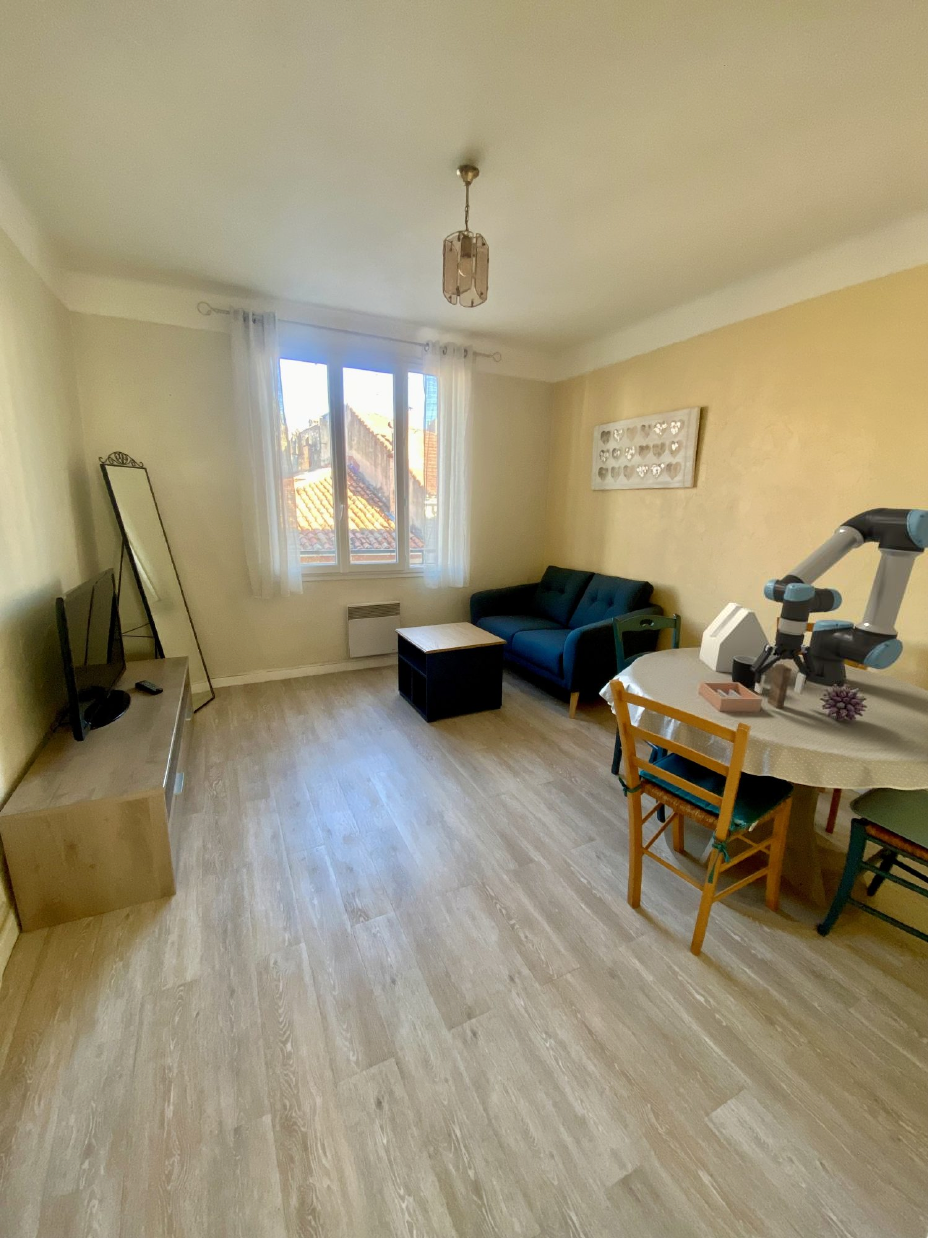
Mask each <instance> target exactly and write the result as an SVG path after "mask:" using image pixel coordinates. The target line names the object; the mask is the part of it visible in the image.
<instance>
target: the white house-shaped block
mask: <svg viewBox="0 0 928 1238" xmlns="http://www.w3.org/2000/svg"><path fill="white" fill-rule="evenodd" d="M766 644H768V645H770V646H771V644H770V642H769V640H768V637H767V636H766V633H765V631H764V629H763V627H762V626H761V622H760V621H759V620H758V617H757V614H756V613H755V612H754V611H753V610H752V609H749V608H746V607H743V606H742V605H740V604H739V603H737V602H731V601H730V602H729V603H728V604H727V605H726V606H725V607H724V608H723V609H722V611H721V612H720V613H719V614H718V615H717V617H716V618H715V619H714V620H713V621H712V622H711V623H710V624H709V625H708V627H707V628H705V630H704V631H703V632H702V639H701V645H700V651H699V652H700V653H699V656H698V657H699V659H700V660H701V661H702V662H703V663H705V664H706V665H707V666H708V667H709V668H710V669H712V670H713V672H719V673H720V672H722V673H723V672H724V673H732V666H733V659H734V657H735V656H749V657H753V658H756V659H757V658H758V657H759V656H760V654H761V653H762V652H763V650H764V647H765V645H766Z"/></svg>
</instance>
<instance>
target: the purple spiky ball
mask: <svg viewBox="0 0 928 1238" xmlns="http://www.w3.org/2000/svg"><path fill="white" fill-rule="evenodd" d="M831 688H832V690H831V689H828V688H826V687H825V688H824V690H825V691H826V693H822V696H820V697H819V700H820V701H822V702H824V704H822V705H821V707H822V709H823V710H828V713H827V714H826V716H828V717H830V716H831V715H835V716H836V717H835V718H836V720H838V722H843V721H844V719H845V718H847V719H849V721H850V722H853V721H854V720H856V719H857V717H856V716H860V717H863V716H864V714H862V712H866V709H867V708H868V705H866V704H864V703H863V702H864V701H867V698H866V696H865V695H858V693H859V691H860V689H859V688H856V689H852V690H851V689H850V685H849V684H846V683H845V684H844V685H842V687H840V686H837V685H836V684H835V685H834V686H833V685H832V686H831Z"/></svg>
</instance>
